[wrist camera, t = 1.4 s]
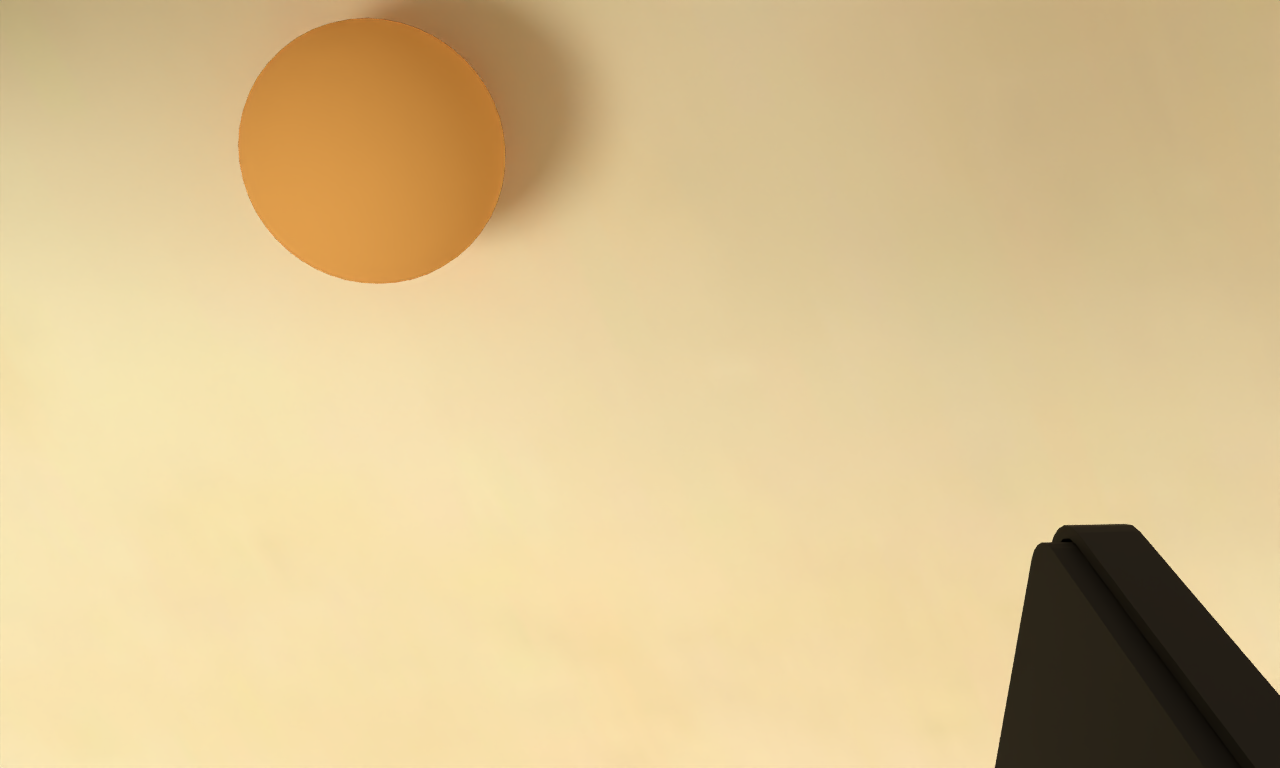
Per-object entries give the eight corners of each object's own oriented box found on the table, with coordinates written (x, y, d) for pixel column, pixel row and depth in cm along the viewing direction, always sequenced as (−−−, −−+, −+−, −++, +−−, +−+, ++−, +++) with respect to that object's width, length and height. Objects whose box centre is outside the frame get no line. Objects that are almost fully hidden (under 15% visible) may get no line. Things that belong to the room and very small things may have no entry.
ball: (249, 190, 30) (171, 261, 24) (315, -35, 28) (245, -14, 22) (468, 273, 31) (440, 359, 25) (548, 62, 29) (535, 107, 23)
